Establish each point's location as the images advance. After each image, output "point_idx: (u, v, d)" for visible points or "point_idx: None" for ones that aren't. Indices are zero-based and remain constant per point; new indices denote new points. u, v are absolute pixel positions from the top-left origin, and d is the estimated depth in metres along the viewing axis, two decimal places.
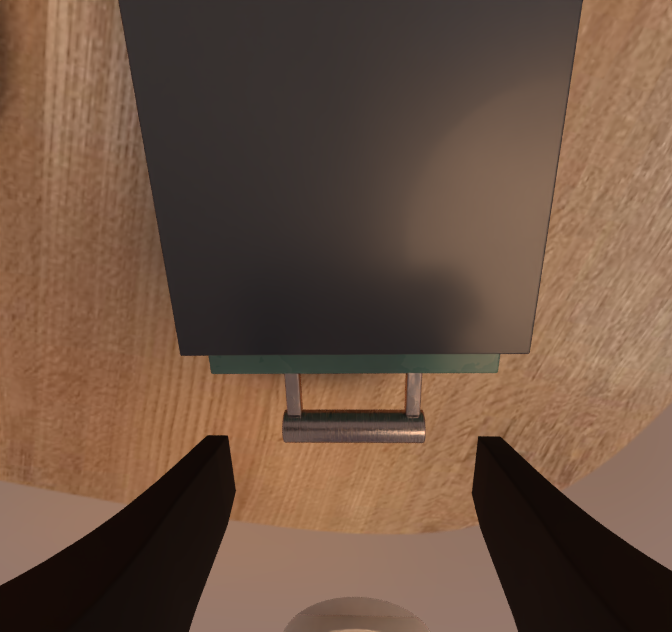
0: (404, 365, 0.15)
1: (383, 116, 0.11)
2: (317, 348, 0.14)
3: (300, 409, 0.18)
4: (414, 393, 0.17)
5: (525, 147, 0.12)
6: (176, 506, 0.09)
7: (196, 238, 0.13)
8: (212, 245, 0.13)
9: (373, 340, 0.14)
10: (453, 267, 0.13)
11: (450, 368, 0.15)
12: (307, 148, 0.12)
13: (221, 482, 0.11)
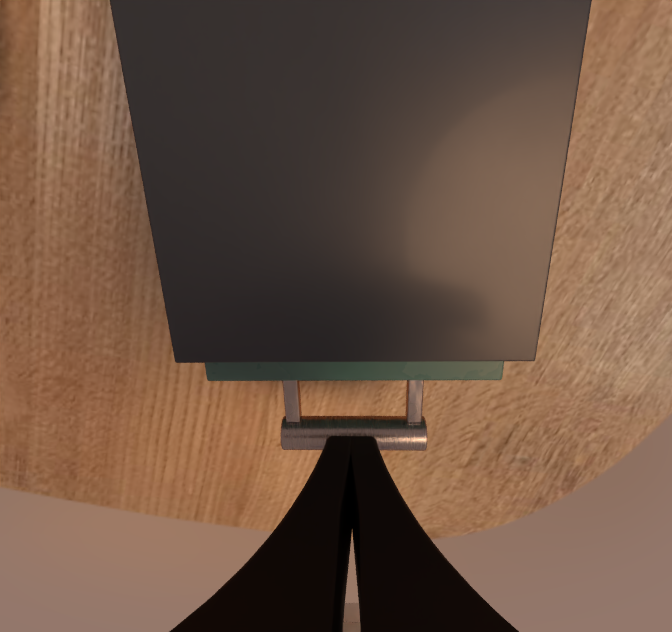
0: (405, 371, 0.15)
1: (384, 116, 0.11)
2: (316, 355, 0.14)
3: (299, 416, 0.17)
4: (415, 400, 0.17)
5: (531, 148, 0.11)
6: (341, 508, 0.09)
7: (191, 242, 0.12)
8: (207, 249, 0.12)
9: (374, 347, 0.13)
10: (456, 272, 0.12)
11: (452, 375, 0.15)
12: (305, 149, 0.11)
13: (351, 483, 0.11)
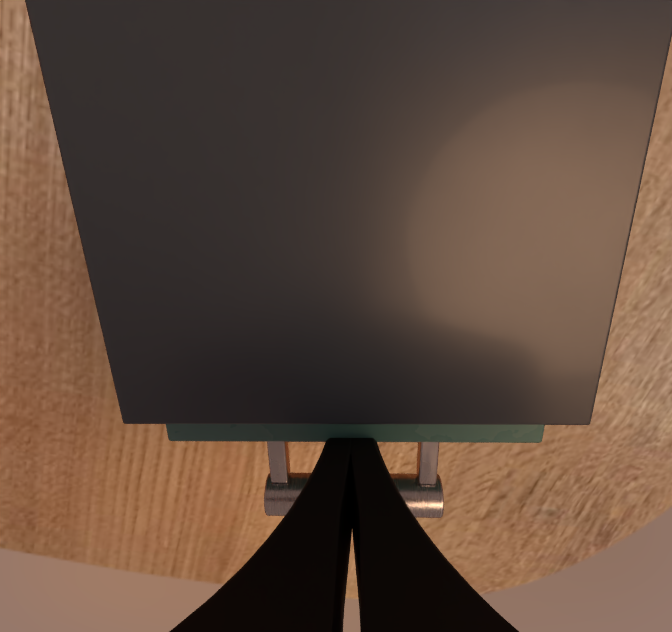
0: (419, 432, 0.12)
1: (395, 103, 0.08)
2: (304, 415, 0.10)
3: (286, 475, 0.14)
4: (429, 458, 0.14)
5: (597, 147, 0.08)
6: (340, 508, 0.09)
7: (137, 272, 0.09)
8: (159, 281, 0.09)
9: (379, 406, 0.10)
10: (490, 312, 0.09)
11: (479, 436, 0.11)
12: (287, 148, 0.08)
13: (350, 483, 0.11)
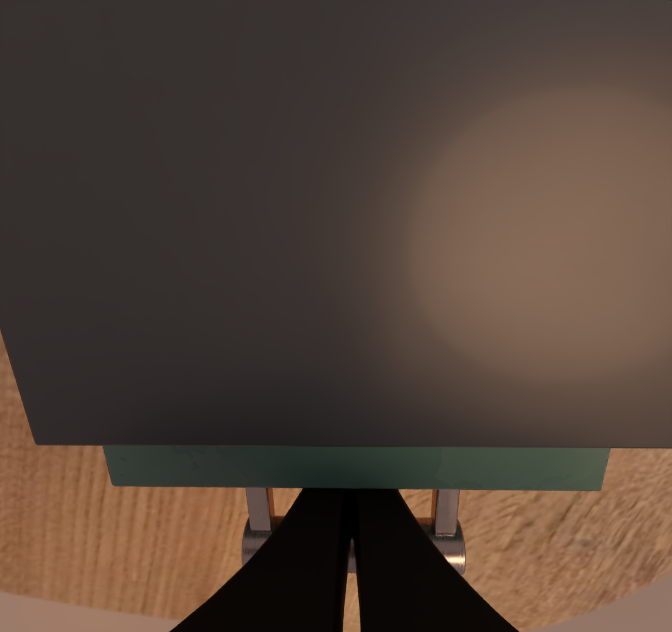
0: (439, 476, 0.09)
1: None
2: (284, 435, 0.07)
3: (270, 522, 0.11)
4: (448, 501, 0.11)
5: None
6: (340, 507, 0.09)
7: (39, 228, 0.06)
8: (72, 242, 0.07)
9: (388, 422, 0.07)
10: (550, 286, 0.06)
11: (518, 482, 0.09)
12: (252, 31, 0.05)
13: None
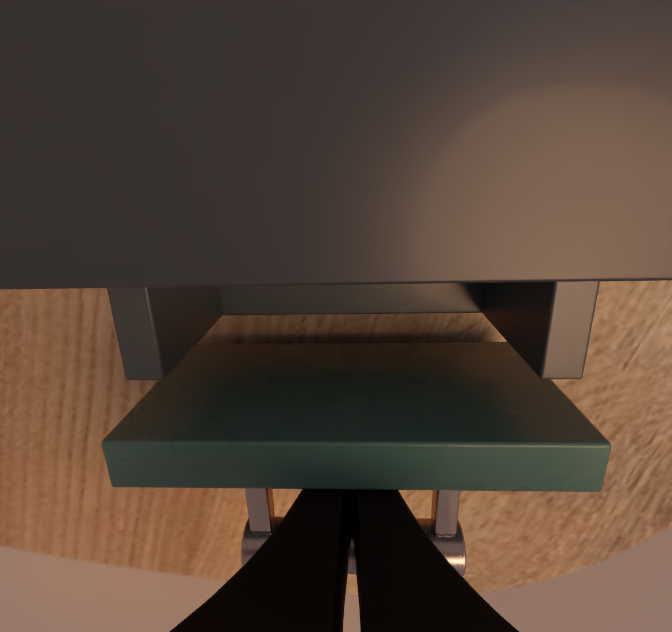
0: (439, 477, 0.09)
1: None
2: (271, 269, 0.07)
3: (269, 523, 0.11)
4: (448, 502, 0.11)
5: None
6: (340, 507, 0.09)
7: None
8: (19, 13, 0.06)
9: (392, 250, 0.06)
10: (583, 60, 0.05)
11: (519, 484, 0.09)
12: None
13: None
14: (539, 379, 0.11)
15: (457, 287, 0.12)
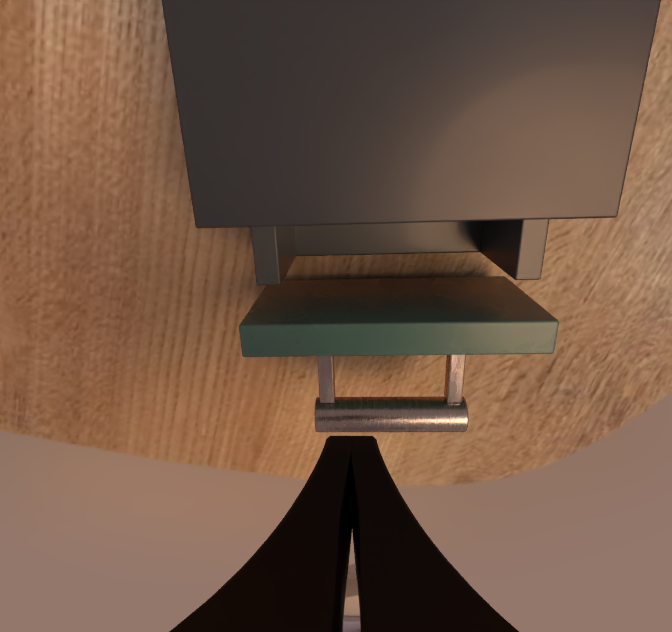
0: (452, 345, 0.14)
1: None
2: (360, 214, 0.12)
3: (333, 396, 0.17)
4: (456, 378, 0.16)
5: None
6: (340, 507, 0.09)
7: (216, 66, 0.10)
8: (236, 76, 0.11)
9: (428, 202, 0.11)
10: (531, 99, 0.10)
11: (502, 348, 0.14)
12: None
13: (350, 483, 0.11)
14: (518, 294, 0.16)
15: (462, 233, 0.17)
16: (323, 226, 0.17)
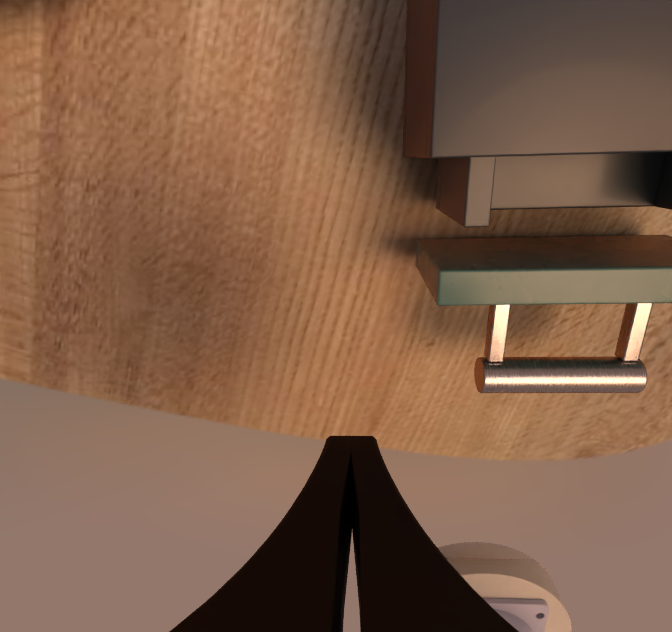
0: (664, 292, 0.13)
1: None
2: (612, 142, 0.11)
3: (503, 354, 0.16)
4: (638, 335, 0.16)
5: None
6: (340, 508, 0.09)
7: None
8: None
9: None
10: None
11: None
12: None
13: (350, 483, 0.11)
14: None
15: (638, 186, 0.16)
16: None
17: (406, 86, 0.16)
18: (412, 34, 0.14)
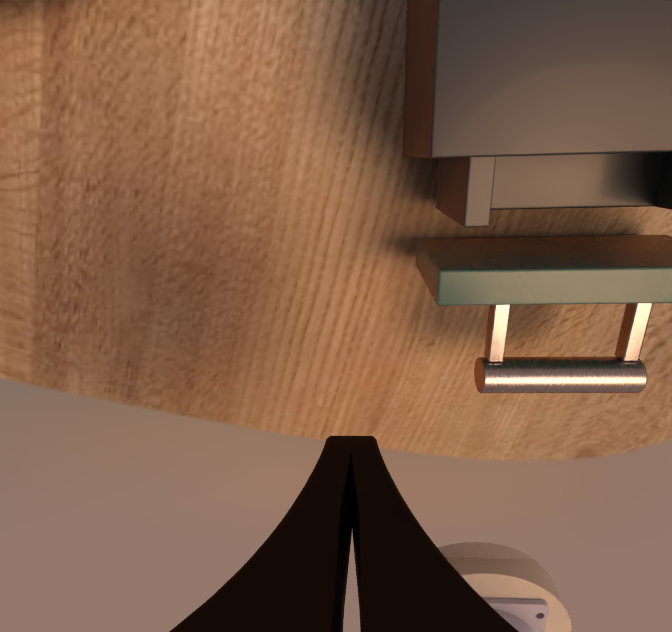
0: (664, 292, 0.13)
1: None
2: (612, 142, 0.11)
3: (503, 354, 0.16)
4: (638, 335, 0.16)
5: None
6: (340, 508, 0.09)
7: None
8: None
9: None
10: None
11: None
12: None
13: (350, 483, 0.11)
14: None
15: (638, 186, 0.16)
16: None
17: (406, 86, 0.16)
18: (412, 34, 0.14)
